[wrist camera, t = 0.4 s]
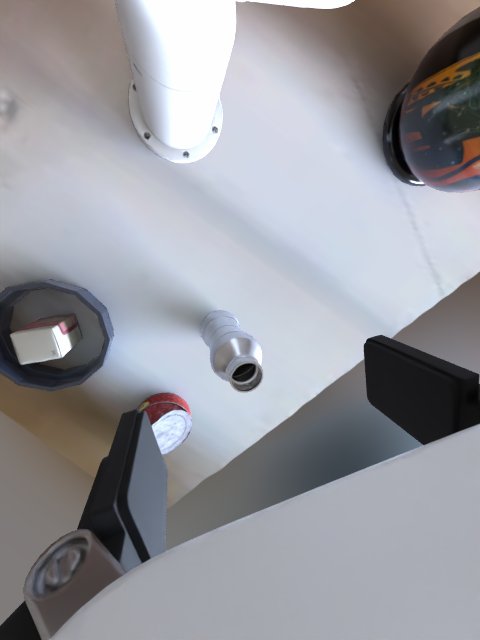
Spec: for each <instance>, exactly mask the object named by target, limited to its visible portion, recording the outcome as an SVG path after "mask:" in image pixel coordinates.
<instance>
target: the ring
mask: <svg viewBox="0 0 480 640" xmlns="http://www.w3.org/2000/svg"><path fill="white" fill-rule="evenodd" d="M44 288H52V289H55V290H59V291H62V292H65V293H69V294H72V295H75V296H76V297H77V298H78V299H80V300H81V301H82V302H83V303H84V304H85V305H86V306H87V307H89V308H90V309H91V310H92V311H93V312H94V313H95V314H96V315H97V316H98V319H99V322H100V325H101V328H102V331H103V334H104V337H105V340H104V344H103V347H102V351H101V353H100V354H99V355H97V356H96V357H95V358H94V359H93V360H92V361H91V362H89V363H88V364H86V365H82V366H77V367H73V368H69V369H59V368H55V367H50V366H45V365H40V364H38V363H37V362H35V363H29V364H20V362H19V360H18V357H17V354H16V352H15V348H14V346H13V343H12V340H11V337H10V334H12V332H11V330H10V328H9V327H10V322H11V318H12V313H13V308H14V305H15V304H16V303H18V302H19V301H20V300H21V299H22V298H23V297H25V296H26V295H27V294H28V293H29V292H30V291H33V290H38V289H44ZM113 337H114V333H113V327H112V324H111V321H110V317H109V314H108V311H107V308H106V307H105V306H104V305H103V304H102V303H101V302H100V301H99V300H98V299H96V298H95V297H94V296H93V295H92V294H91V293H90V292H89V291H88V290H86V289H84V288H80V287H77V286H74V285H70V284H67V283H64V282H60V281H56V280H53V279H49V280H43V281H37V282H31V283H25V284H20V285H15V286H11V287H7V288H6V289H5V290H3V291H2V292H1V293H0V373H1V374H2V375H4V376H5V377H7V378H8V379H10V380H11V381H13V382H14V383H15V384H17V385H19V386H24V387H30V388H35V389H41V390H46V391H55V390H59V389H63V388H67V387H71V386H75V385H80V384H82V383H83V382H84V381H86V380H87V379H88V378H89V377H90V376H91V375H92V374H94V373H95V372H96V371H97V370H98V369H99V368H101V367H102V366H103V364H104V363H105V361H106V359H107V357H108V354H109V350H110V347H111V344H112V340H113Z"/></svg>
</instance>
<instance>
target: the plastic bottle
mask: <svg viewBox="0 0 480 640" xmlns="http://www.w3.org/2000/svg"><path fill="white" fill-rule="evenodd" d="M200 334H201V337H202V340H203V341H204V342H205V344H206V345H207V346H209V348H210V362H211V367H212V369H213V371H214V372H215V374H216V375H217V376H219V377H220V378H221V379H223V380H225V381H228V382H230V384H231V386H232V387H233V388H234V389H235V390H236V391H238V392H250V391H252V390H254V389H256V388H257V387H258V386H259V385H260V383H261V382H262V379H263V370H262V368H261V366H260V364H261V361H262V353H261V348H260V345H259V343H258V342H257V341H256V340H255V339H254V338H253V337H252V336H251V335H249V334H247V333H245V332H243V331H242V330H241V329H240V325H239V322H238V320H237V319H236V317H235V316H234V315H233V314H231V313H229V312H226V311H214V312H212V313H210V314H208V315H207V316H206V317H205V318H204V320H203V322H202V324H201V328H200Z"/></svg>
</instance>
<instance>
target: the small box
mask: <svg viewBox="0 0 480 640" xmlns="http://www.w3.org/2000/svg"><path fill="white" fill-rule="evenodd" d="M10 337H11V340H12V343H13V346H14V348H15V352H16V354H17V357H18V360H19V362H20V364H29V363H35V362H42V361H47V360H52V359H58V358H62V357H63V356H64V355H65V354H66V353H67V352H68V351H69V350H70V349H72V348H73V347H74V346H75V345H76V344H77V343H78V342H79V341H80V340H81V339H82V337H81V333H80V329H79V326H78V323H77V320H76V317H75V314H69V315H61V316H54V317H48V318H42V319H39V320H37V321H35V322H33V323H31V324H29V325H28V326H26V327H24V328H22V329H20V330H18V331H16V332H14V333H12V334H10Z"/></svg>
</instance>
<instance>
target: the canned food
mask: <svg viewBox="0 0 480 640" xmlns="http://www.w3.org/2000/svg"><path fill="white" fill-rule="evenodd" d="M138 409H140V411H141V412H143V411H146V413H147V415H148V418H149V421H150V424H151V426H152V429H153V432H154V435H155V437H156V440H157V443H158V446H159V448H160V451H161V454H165V453H168V452H170V451H171V450H173V449H174V448H176V447H177V446H179V445H180V444H181V443H182V442H183V441H184V440H185V439H186V438H187V437H188V435H189V433H190V430H191V425H192V419H191V412H190V408H189V405H188V404H187V402H186V401H185V400H184V399H183V398H181V397H179V396H178V395H175V394H171V393H160V394H156V395H153V396H151V397H149V398H147V399H146V400H145V401H143V402H142V404H141V405H140V406H139V408H138Z"/></svg>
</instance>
